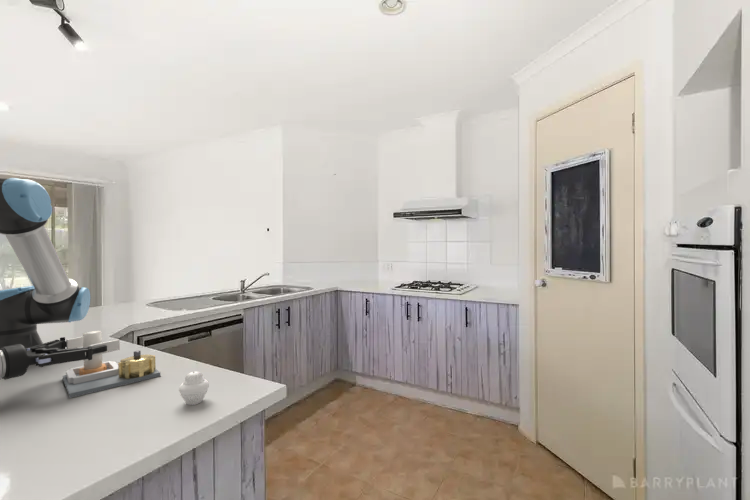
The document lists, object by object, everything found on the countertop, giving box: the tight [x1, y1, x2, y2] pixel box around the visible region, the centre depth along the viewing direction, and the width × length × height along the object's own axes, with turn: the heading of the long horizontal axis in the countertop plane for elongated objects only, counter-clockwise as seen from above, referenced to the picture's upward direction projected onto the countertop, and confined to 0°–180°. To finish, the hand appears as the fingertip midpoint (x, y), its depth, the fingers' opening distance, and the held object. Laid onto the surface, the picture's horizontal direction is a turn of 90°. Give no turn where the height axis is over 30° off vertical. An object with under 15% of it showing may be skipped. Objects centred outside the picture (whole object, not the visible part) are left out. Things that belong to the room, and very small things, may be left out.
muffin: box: [178, 371, 210, 406], centre depth 80 cm, size 6×6×7 cm
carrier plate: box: [62, 360, 161, 399], centre depth 97 cm, size 18×19×2 cm
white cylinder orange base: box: [79, 330, 107, 376], centre depth 97 cm, size 6×6×12 cm
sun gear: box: [117, 350, 157, 379], centre depth 97 cm, size 8×8×6 cm
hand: (106, 341), depth 100 cm, fingers open, 13 cm apart
